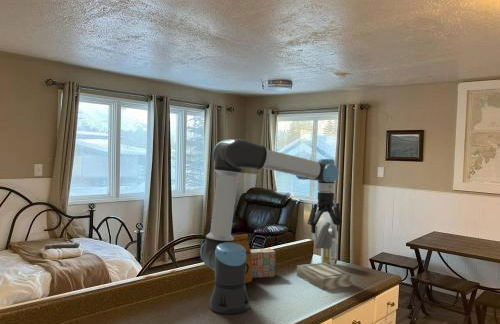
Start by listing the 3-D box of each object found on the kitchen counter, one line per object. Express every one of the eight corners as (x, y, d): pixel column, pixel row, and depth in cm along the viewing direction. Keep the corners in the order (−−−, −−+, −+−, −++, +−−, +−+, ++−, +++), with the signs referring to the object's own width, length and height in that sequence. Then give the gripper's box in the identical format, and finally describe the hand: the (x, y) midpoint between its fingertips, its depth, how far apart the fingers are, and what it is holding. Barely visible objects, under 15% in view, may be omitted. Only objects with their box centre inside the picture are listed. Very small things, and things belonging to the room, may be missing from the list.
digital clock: (319, 242, 198) (320, 220, 197) (337, 244, 193) (338, 222, 193) (308, 248, 183) (308, 225, 183) (327, 251, 179) (327, 227, 179)
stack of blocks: (231, 279, 187) (232, 253, 187) (228, 275, 193) (229, 250, 193) (275, 276, 193) (275, 251, 193) (270, 273, 199) (271, 248, 199)
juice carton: (338, 264, 218) (339, 229, 218) (332, 267, 211) (333, 231, 211) (325, 261, 222) (326, 227, 222) (319, 265, 215) (320, 229, 215)
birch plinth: (322, 290, 175) (323, 278, 175) (296, 275, 195) (296, 265, 195) (352, 285, 182) (352, 274, 182) (323, 272, 202) (324, 262, 202)
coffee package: (255, 283, 182) (256, 235, 182) (232, 288, 175) (234, 238, 174) (242, 277, 190) (243, 231, 190) (220, 282, 183) (221, 234, 182)
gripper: (309, 193, 180) (308, 242, 180) (350, 192, 189) (349, 239, 190) (300, 191, 186) (299, 239, 187) (340, 190, 196) (339, 236, 196)
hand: (324, 239), depth 188 cm, fingers closed on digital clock, 10 cm apart
